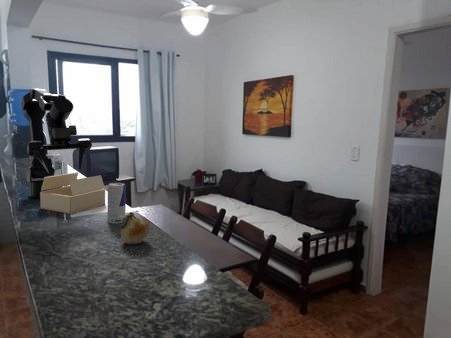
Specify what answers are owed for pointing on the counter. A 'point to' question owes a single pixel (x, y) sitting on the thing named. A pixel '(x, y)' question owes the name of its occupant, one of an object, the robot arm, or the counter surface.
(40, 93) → the robot arm
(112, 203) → the energy drink
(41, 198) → the carton
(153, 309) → the counter surface
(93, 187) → the flap
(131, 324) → the counter surface
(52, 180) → the flap
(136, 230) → the onion
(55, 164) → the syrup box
